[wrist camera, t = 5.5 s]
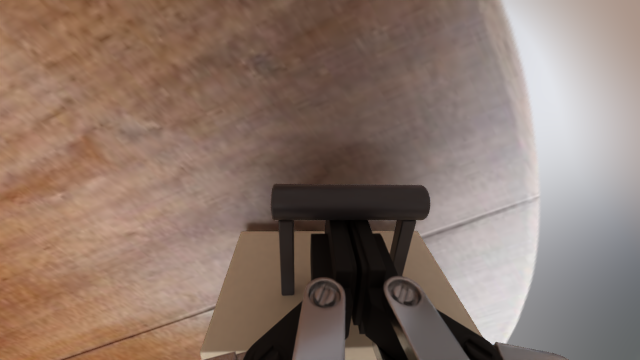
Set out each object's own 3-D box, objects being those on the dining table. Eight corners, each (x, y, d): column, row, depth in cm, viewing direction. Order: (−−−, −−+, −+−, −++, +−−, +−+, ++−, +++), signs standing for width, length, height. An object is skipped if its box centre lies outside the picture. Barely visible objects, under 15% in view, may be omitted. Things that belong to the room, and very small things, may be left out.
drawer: (229, 144, 14) (162, 232, 7) (439, 148, 14) (549, 231, 8) (257, 362, 23) (238, 487, 16) (384, 357, 24) (414, 475, 17)
